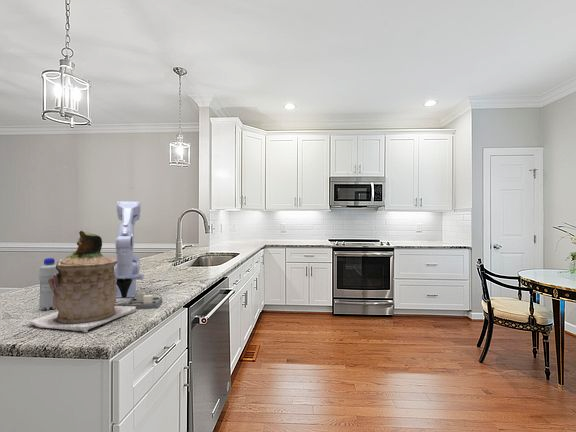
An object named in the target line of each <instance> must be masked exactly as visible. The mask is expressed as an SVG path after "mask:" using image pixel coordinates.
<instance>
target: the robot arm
mask: <svg viewBox="0 0 576 432" xmlns="http://www.w3.org/2000/svg"><path fill="white" fill-rule="evenodd" d="M116 213H117V219H118V220H119V221H121V222H122V223H120V224H119V226H118V232H117V236H116V237H115V241H114V242H115V243H114V245H115V254H116V260H117V264H116V265H115V266H114V270H115V276H116V288H117V295H116V299H117V298H118V299H119V298H122V299H127V298H133V297H137V293H138V292H139V291H137V280H142V281H143V280H144V279H145V274H144V273H143V274H142V273H140V267H141V266H140V259H139V257H138V256H136V255H135V254H134V247H135V246H134V245H135V241H134V240H135V239H134V237H135V224H136V222H137V221H139V220H140V218H141V202H140V201H139V200H138V201H137V200H133V201H127V200H118V201H117V202H116Z"/></svg>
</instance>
